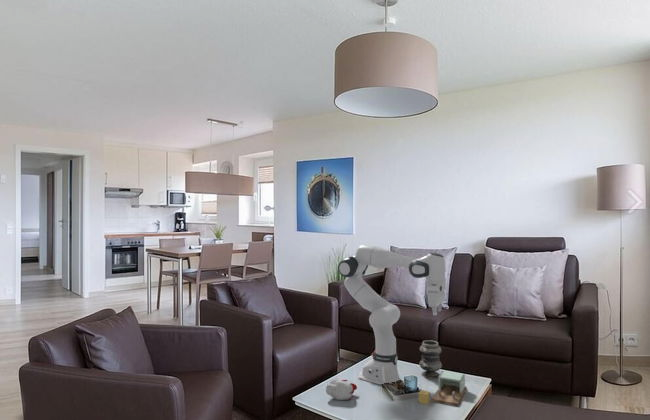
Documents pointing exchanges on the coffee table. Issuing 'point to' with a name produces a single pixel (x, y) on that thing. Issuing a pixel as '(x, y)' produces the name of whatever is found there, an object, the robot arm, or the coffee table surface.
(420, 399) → the yellow cube
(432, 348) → the apothecary jar
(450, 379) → the housing cover
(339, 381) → the white red lumpy figurine
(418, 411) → the coffee table surface
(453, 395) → the housing base
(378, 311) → the robot arm
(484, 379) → the coffee table surface
